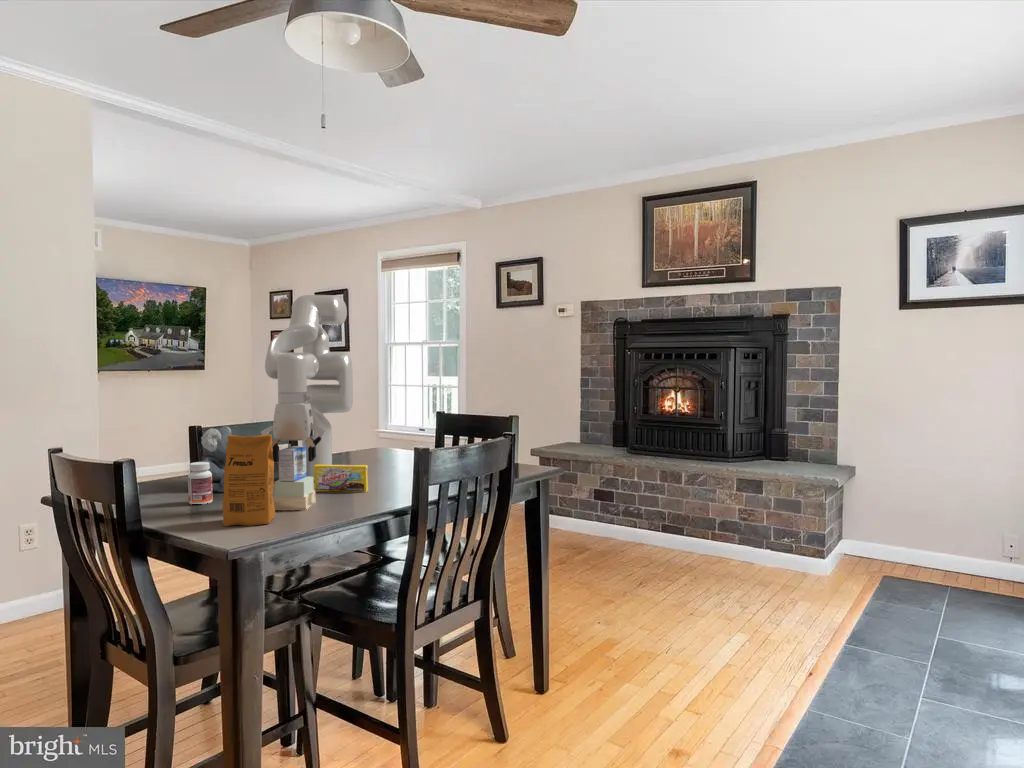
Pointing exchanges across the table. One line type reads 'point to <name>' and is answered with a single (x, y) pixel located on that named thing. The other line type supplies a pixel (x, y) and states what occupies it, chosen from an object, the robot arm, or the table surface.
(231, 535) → the table surface
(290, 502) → the maple block
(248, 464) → the coffee package
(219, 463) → the koala plush
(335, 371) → the robot arm
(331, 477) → the candy box
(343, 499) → the table surface
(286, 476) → the medicine box
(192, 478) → the pill bottle
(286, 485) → the sage block
